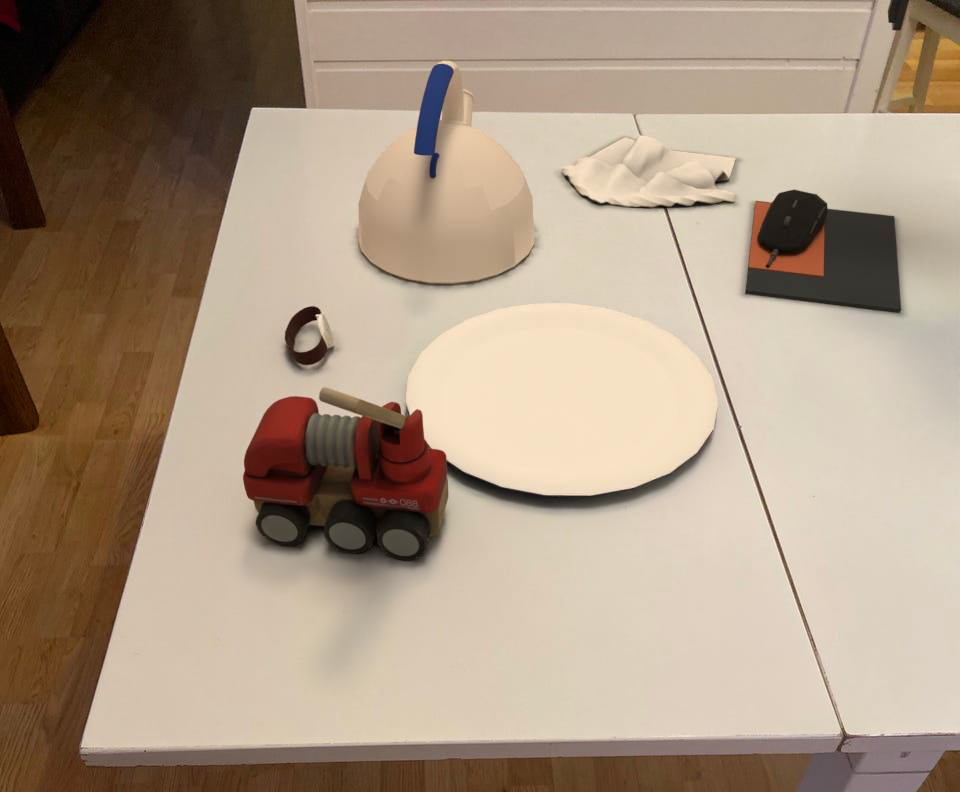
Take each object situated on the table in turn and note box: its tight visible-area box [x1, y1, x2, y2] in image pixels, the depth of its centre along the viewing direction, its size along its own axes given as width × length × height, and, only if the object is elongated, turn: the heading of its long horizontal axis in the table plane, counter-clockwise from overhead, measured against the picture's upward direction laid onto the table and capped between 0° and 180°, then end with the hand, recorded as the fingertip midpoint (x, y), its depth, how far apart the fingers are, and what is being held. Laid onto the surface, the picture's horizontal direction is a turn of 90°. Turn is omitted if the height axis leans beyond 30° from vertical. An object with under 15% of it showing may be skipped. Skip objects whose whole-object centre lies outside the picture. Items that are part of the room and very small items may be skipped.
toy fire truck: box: [242, 386, 449, 561], centre depth 73 cm, size 11×16×18 cm
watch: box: [284, 305, 335, 366], centre depth 95 cm, size 8×5×4 cm, turn 7°
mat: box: [744, 200, 902, 314], centre depth 108 cm, size 16×20×1 cm
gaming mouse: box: [757, 189, 829, 268], centre depth 108 cm, size 6×15×4 cm, turn 152°
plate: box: [405, 302, 720, 498], centre depth 90 cm, size 29×29×2 cm
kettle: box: [357, 60, 536, 285], centre depth 103 cm, size 20×21×18 cm
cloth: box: [560, 134, 736, 208], centre depth 118 cm, size 20×22×2 cm
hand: (944, 30), depth 89 cm, fingers open, 8 cm apart
